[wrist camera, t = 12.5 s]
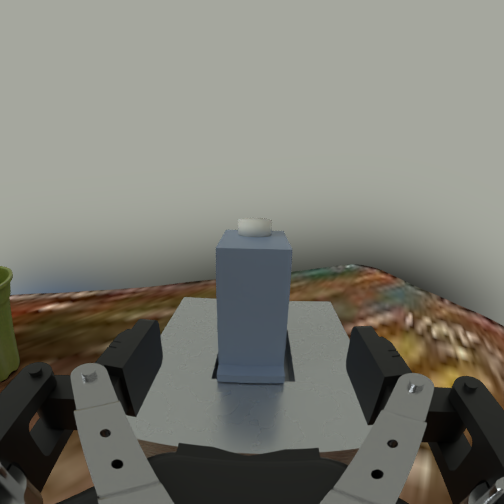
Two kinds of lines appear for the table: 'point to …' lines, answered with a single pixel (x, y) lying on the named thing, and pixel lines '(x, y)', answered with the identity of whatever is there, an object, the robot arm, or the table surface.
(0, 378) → the plant pot
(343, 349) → the plate
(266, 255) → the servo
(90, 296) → the table surface
